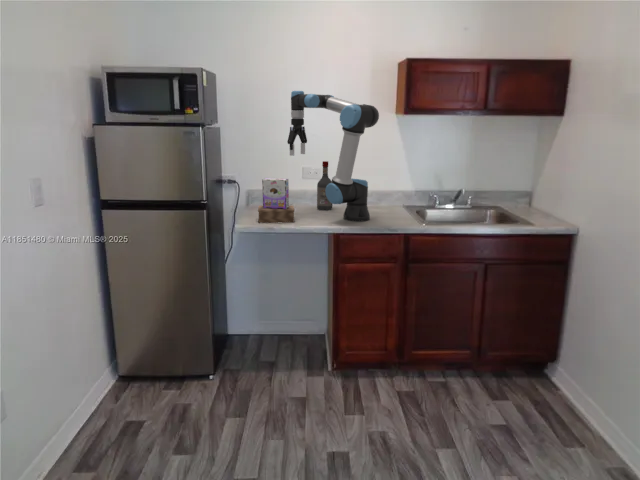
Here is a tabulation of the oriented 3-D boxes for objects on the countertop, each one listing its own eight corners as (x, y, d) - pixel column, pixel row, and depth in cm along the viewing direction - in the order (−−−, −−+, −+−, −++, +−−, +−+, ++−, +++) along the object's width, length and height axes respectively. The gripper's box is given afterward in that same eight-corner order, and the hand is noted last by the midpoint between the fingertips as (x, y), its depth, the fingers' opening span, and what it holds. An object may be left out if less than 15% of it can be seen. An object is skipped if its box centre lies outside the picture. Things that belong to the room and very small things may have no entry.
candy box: (289, 207, 274) (289, 178, 269) (286, 209, 268) (285, 180, 264) (266, 206, 276) (265, 177, 272) (262, 208, 271) (261, 178, 266)
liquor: (330, 210, 302) (331, 162, 295) (316, 210, 304) (317, 162, 296) (332, 208, 311) (333, 161, 304) (318, 207, 313) (319, 160, 305)
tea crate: (293, 217, 282) (293, 205, 280) (294, 223, 269) (294, 210, 267) (259, 218, 280) (258, 205, 278) (258, 223, 267) (258, 210, 265)
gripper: (301, 118, 297) (301, 153, 302) (281, 118, 275) (281, 155, 280) (312, 118, 293) (312, 153, 299) (292, 118, 272) (292, 156, 277)
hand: (297, 154), depth 290 cm, fingers open, 13 cm apart
